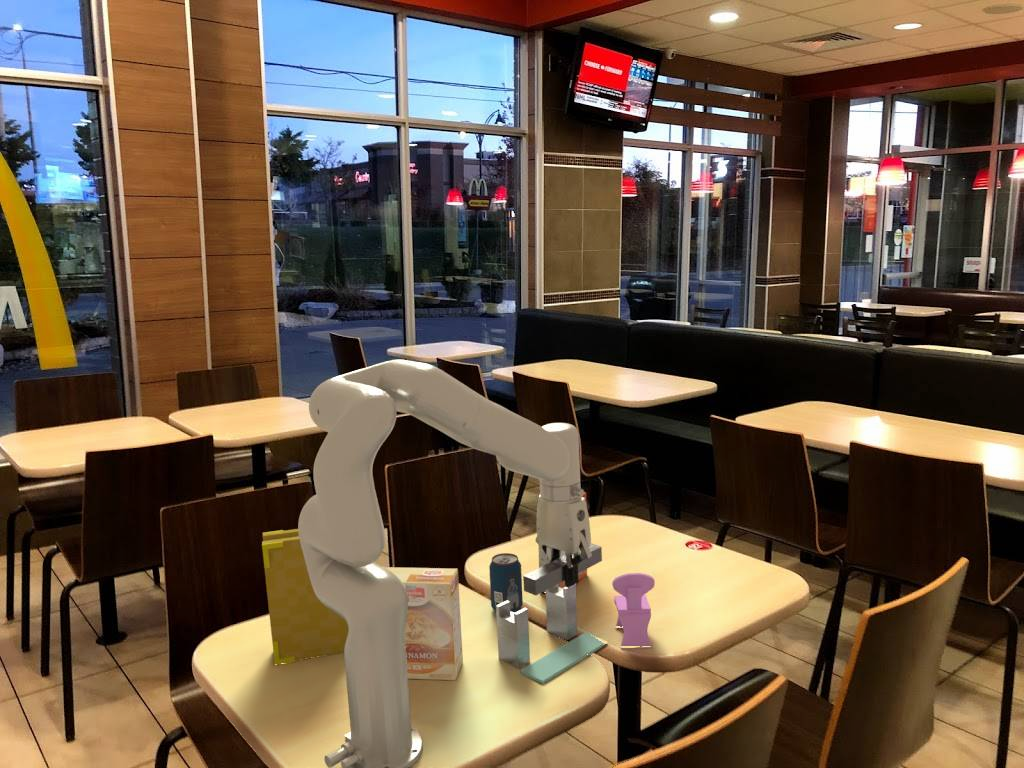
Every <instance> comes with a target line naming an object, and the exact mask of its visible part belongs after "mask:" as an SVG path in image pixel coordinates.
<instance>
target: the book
mask: <svg viewBox="0 0 1024 768" xmlns="http://www.w3.org/2000/svg"><path fill="white" fill-rule="evenodd" d="M261 547H262V548H261V549H262V557H263V565H264V566H263V569H264V576H265V586H266V587H265V588H266V595H267V604H268V613H269V614H268V615H269V623H270V631H271V633H270V634H271V642H272V643H271V644H272V652H273V662H274V664H273V665H275V664H281V663H287V664H291V663H290V662H293V663H295V662H296V661H295V660H298V661H301V660H300V659H304V660H306V659H305V658H309V659H312V658H311V657H315V658H318V657H317V656H321V657H325V656H324V655H327V656H331V655H330V654H333V655H337V654H342V653H343V654H344V647H345V643H346V639H347V636H348V624H347V622H346V621H345V620H344V619H343V618H341V617H340V616H339V615H338V614H336V613H335V612H333V611H332V610H330V609H329V608H327V607H326V606H325V605H324V604H322V603H321V602H320V600H319V599H318V598H317V596H316V594H315V592H314V590H313V587H312V584H311V581H310V577H309V573H308V570H307V566H306V562H305V558H304V555H303V551H302V547H301V543H300V539H299V533H298V528H294V529H288V530H283V529H280V530H274V531H267V532H262V541H261Z"/></svg>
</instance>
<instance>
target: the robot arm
mask: <svg viewBox="0 0 1024 768" xmlns="http://www.w3.org/2000/svg"><path fill="white" fill-rule="evenodd" d="M308 411H309V415H310V418H311V420H312V422H313V423H314V424H315V426H317V427H318V428H319V429H320V430H322V431H324V432H326V433H327V434H326V436H325V438H324V440H323V442H322V443H321V445H320V447H319V450H318V452H317V454H316V457H315V460H314V463H313V482H314V490H315V493H316V494H314V495H313V496H311V497H310V498H309V499H308V500H307V501H306V503H304V505H303V506H302V509H301V511H300V514H299V517H298V525H297V526H298V527H297V529H298V533H299V539H300V543H301V547H302V551H303V555H304V558H305V562H306V566H307V570H308V573H309V577H310V581H311V584H312V587H313V590H314V592H315V594H316V596H317V598H318V599H319V600H320V602H321V603H322V604H324V605H325V606H326V607H327V608H329V609H330V610H332V611H333V612H335V613H336V614H338V615H339V616H340V617H341V618H343V619H344V620H345V621H346V622H347V624H348V636H347V639H346V643H345V647H344V653H343V660H344V670H345V678H346V679H345V681H346V691H347V703H348V714H349V716H348V717H349V725H350V726H349V727H350V732H348V733H346V734H344V740H345V742H343V743H341V746H340V748H338V749H337V750H336V749H335V750H334V751H331V752H330V753H328V754H326V755H324V758H323V759H324V763H325V765H326V767H328V768H332V767H335V766H336V765H338V764H341V768H409V767H410V768H411V767H412V766H413V765H414V764H416V762H418V760H419V759H420V758H421V755H422V753H423V740H422V737H421V735H420V733H419V732H418V731H417V730H416V729H414V728H412V718H411V705H410V704H411V703H410V692H409V689H410V688H409V679H408V674H407V661H406V647H405V626H406V617H407V610H408V595H407V591H406V588H405V586H404V585H403V583H402V582H401V580H400V579H399V578H398V577H397V576H396V575H395V574H393V573H392V572H391V571H389V570H387V569H386V568H384V567H385V566H382V565H379V564H378V563H377V560H378V559H379V558H380V557H381V556H382V553H383V552H384V548H385V545H386V544H385V543H386V531H385V527H384V523H383V522H384V521H383V519H382V517H383V516H382V514H381V508H380V505H379V502H378V501H379V500H378V497H377V492H376V489H375V488H376V487H375V481H374V476H373V468H374V467H373V466H374V465H373V464H374V462H375V459H376V457H377V453H378V451H379V450H380V448H381V446H383V443H385V441H386V440H387V438H388V437H389V435H390V434H391V432H392V431H393V429H394V427H395V424H396V421H397V415H398V414H397V412H399V413H404V414H407V415H410V416H412V417H414V418H416V419H418V420H419V421H421V422H423V423H425V424H427V425H428V426H431V427H432V428H434V429H436V430H438V431H440V432H441V433H443V434H445V435H446V436H448V437H450V438H451V439H453V440H455V441H456V442H458V443H460V444H462V445H464V446H467V447H470V448H472V449H474V450H476V451H480V452H483V453H487V454H490V455H493V456H495V457H496V460H497V462H498V463H499V465H500V466H501V467H503V468H504V469H506V470H508V471H511V472H513V473H517V474H520V475H523V476H528V477H531V478H535V479H538V480H539V495H538V498H537V499H538V500H537V508H536V538H535V543H536V544H537V545H539V546H540V547H542V549H543V551H544V552H545V554H546V559H547V561H549V562H552V561H554V560H556V559H558V558H560V554H561V551H564V552H565V556H566V564H567V567H565V586H566V587H567V588H569V587H571V586H573V585H575V584H576V585H577V584H578V583H579V582H580V581H579V579H578V564H580V563H581V561H583V560H586V559H588V558H590V557H592V553H591V551H590V549H589V547H590V546H591V543H592V536H591V535H592V534H591V526H590V523H591V522H590V518H589V516H590V515H589V512H588V511H589V510H588V507H587V501H586V502H585V499H584V498H583V497H581V496H583V495H584V492H585V491H584V489H583V488H581V470H580V469H581V466H580V465H581V464H580V463H581V462H580V442H579V441H580V439H579V432H578V431H579V430H578V429H577V427H576V426H575V425H573V424H570V423H567V422H551V423H546V424H545V425H542V426H541V425H539V424H537V423H535V422H533V421H532V420H530V419H528V418H525V417H523V416H521V415H520V414H517V413H515V412H513V411H511V410H509V409H508V408H506V407H504V406H502V405H501V404H498V403H496V402H494V401H492V400H489V398H486V397H485V396H483V395H481V394H480V393H478V392H476V391H475V390H474V389H472V388H470V387H469V386H467V385H465V384H464V383H463V382H461V381H459V380H458V379H456V378H455V377H453V376H452V375H450V374H448V373H447V372H445V370H443V369H440V368H438V367H437V366H435V365H432V364H430V363H425V362H419V361H414V360H413V361H412V360H406V359H391V360H387V361H383V362H380V363H376V364H373V365H371V366H367V367H364V368H363V367H362V368H360V369H357V370H354V371H350V372H347V373H344V374H340V375H337V376H335V377H331V378H328V379H326V380H325V381H323V382H322V383H321V382H320V384H319V385H318V386H317V387H316V388H315V389H314V390H313V392H312V394H311V395H310V397H309V401H308ZM539 546H538V547H539ZM579 549H580V550H579ZM580 551H581V553H580ZM572 554H574V558H573V559H572Z"/></svg>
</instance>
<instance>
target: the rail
mask: <svg viewBox="0 0 1024 768" xmlns="http://www.w3.org/2000/svg"><path fill="white" fill-rule="evenodd" d="M589 549H590V551H591V553H592V557H590V558H588V559H586V560H583V561H581V563H580V564H578V573H580V572H582V571H584V570H586V569H587V570H588V569H590V568H591V567H593V566H595V565H597V564H598V563H600V562H602V561H603V558H602V557H603V553H602V549H603V548H602V546H601V545H599V544H596V543H595V544H594V543H592V542H591V546H590V547H589ZM579 550H580V549H579ZM580 553H581V551H580ZM573 558H574V554H572V559H573ZM565 567H567V564H566V556H565V555H564V556H562V557H560V558H558V559H556V560H554V561H552V562H550V563H548V564H546V565H544V566H542V567H540V568H539V567H538V568H536V569H534V570H532V571H529V572H527V573H526V574H523V575H522V578H523V579H522V583H523V591H524V592H526V593H529V594H531V595H532V596H538V595H540V594H542V592H544V591H546V590H548V589H550V588H551V587H553V586H555V585H557V584H559V583H561V582H563V581H565Z"/></svg>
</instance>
